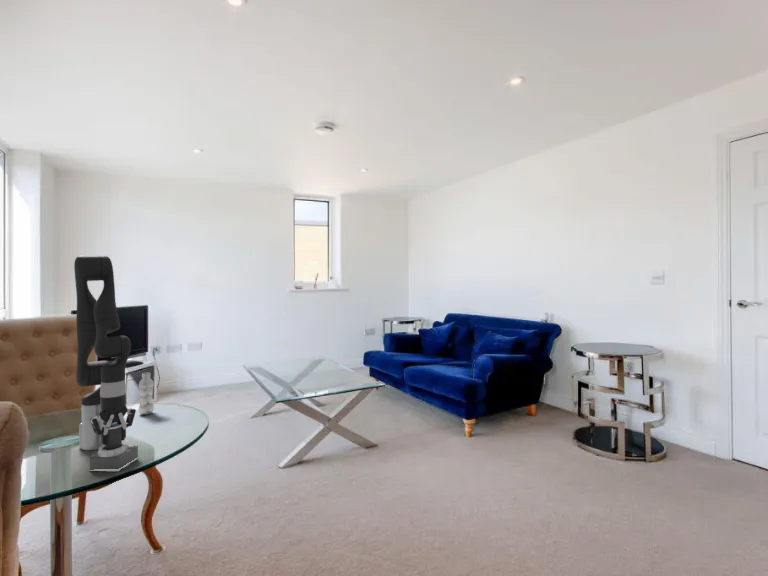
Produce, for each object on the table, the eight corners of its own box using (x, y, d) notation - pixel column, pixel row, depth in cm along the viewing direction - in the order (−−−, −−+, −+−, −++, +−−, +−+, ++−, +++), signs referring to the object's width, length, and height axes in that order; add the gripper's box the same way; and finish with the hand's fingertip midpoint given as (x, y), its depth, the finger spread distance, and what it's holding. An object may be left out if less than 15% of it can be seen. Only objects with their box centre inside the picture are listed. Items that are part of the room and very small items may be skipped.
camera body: (89, 471, 136) (89, 451, 136) (111, 458, 146) (111, 439, 146) (118, 472, 136) (118, 451, 136) (137, 459, 146) (137, 440, 146)
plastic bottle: (150, 411, 200) (150, 371, 200) (156, 413, 196) (156, 373, 196) (136, 414, 195) (136, 373, 195) (141, 417, 191) (141, 375, 191)
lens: (109, 451, 137) (109, 427, 137) (102, 448, 139) (102, 424, 139) (124, 446, 141) (124, 423, 141) (118, 443, 143) (117, 421, 143)
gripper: (94, 400, 132) (94, 452, 132) (140, 390, 144) (140, 438, 144) (84, 396, 136) (85, 446, 136) (130, 387, 148) (130, 433, 148)
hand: (113, 442), depth 140 cm, fingers closed on lens, 4 cm apart
